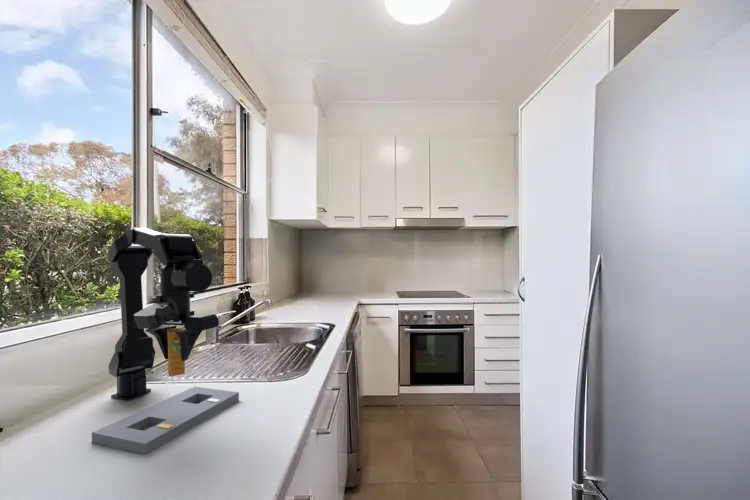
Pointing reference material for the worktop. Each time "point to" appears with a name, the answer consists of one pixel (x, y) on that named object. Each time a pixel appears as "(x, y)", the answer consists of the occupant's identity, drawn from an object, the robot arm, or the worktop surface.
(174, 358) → the supplement box
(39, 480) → the worktop surface
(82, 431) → the worktop surface
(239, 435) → the worktop surface
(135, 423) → the port panel
